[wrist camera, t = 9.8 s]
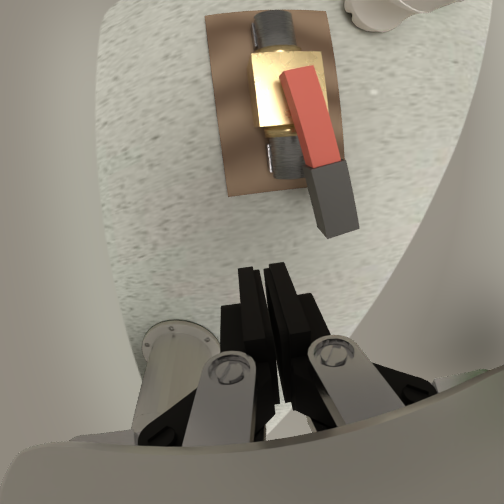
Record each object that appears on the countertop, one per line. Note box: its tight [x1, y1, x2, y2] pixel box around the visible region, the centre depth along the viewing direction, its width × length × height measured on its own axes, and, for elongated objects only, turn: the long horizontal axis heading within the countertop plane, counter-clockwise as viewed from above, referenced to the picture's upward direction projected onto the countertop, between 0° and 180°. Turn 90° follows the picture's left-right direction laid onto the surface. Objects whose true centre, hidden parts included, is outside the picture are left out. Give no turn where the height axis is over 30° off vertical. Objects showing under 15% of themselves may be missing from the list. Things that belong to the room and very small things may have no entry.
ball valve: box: [247, 10, 329, 179], centre depth 26 cm, size 18×6×6 cm, turn 7°
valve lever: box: [279, 65, 359, 239], centre depth 23 cm, size 3×14×4 cm, turn 17°
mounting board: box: [205, 10, 345, 197], centre depth 29 cm, size 22×14×2 cm, turn 7°
